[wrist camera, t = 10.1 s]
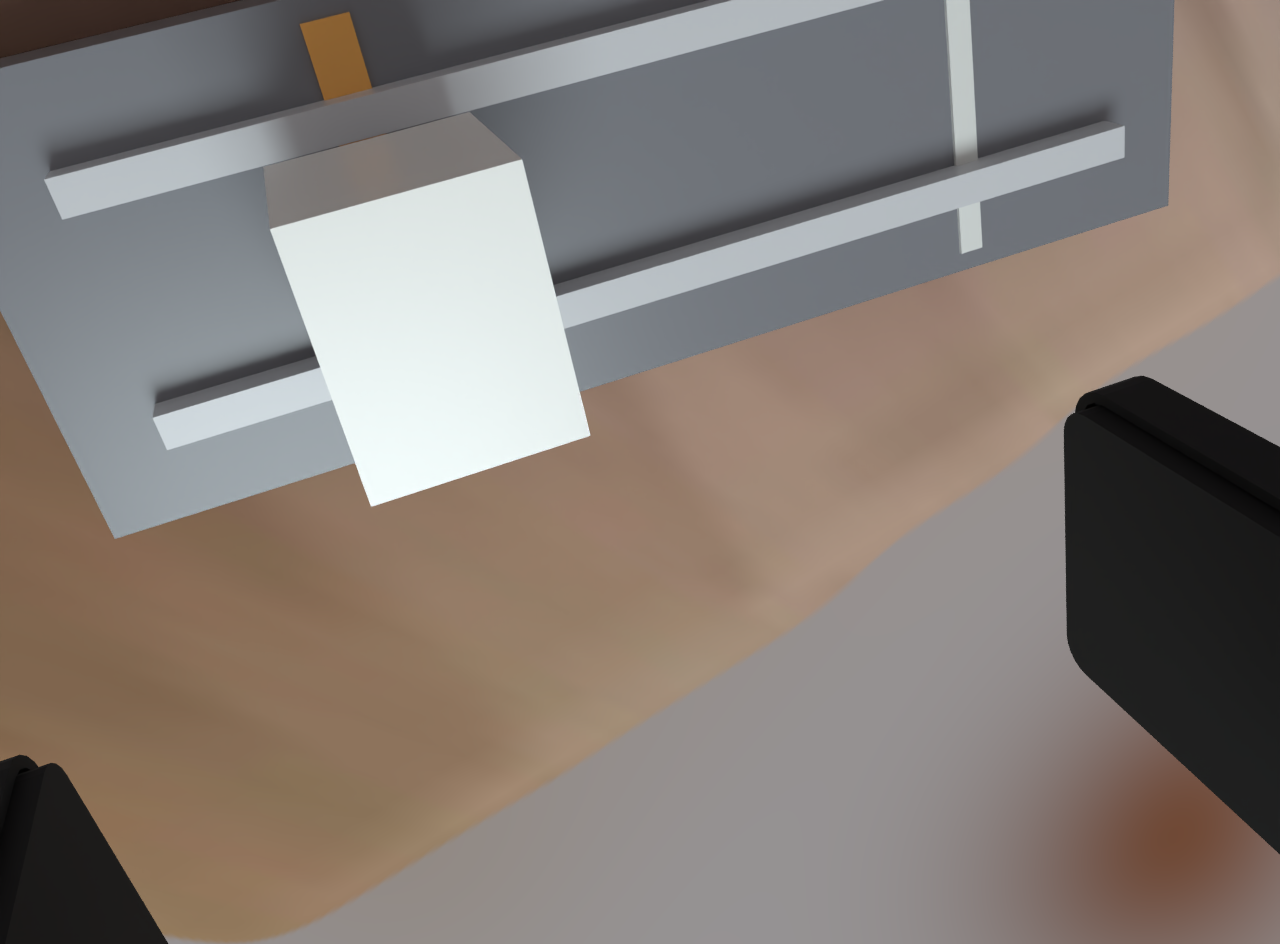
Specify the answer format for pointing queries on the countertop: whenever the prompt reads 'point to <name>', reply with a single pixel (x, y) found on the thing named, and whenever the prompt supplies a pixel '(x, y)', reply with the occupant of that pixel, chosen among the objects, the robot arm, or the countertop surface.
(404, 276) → the cap
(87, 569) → the countertop surface
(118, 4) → the countertop surface
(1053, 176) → the fader console
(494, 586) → the countertop surface
